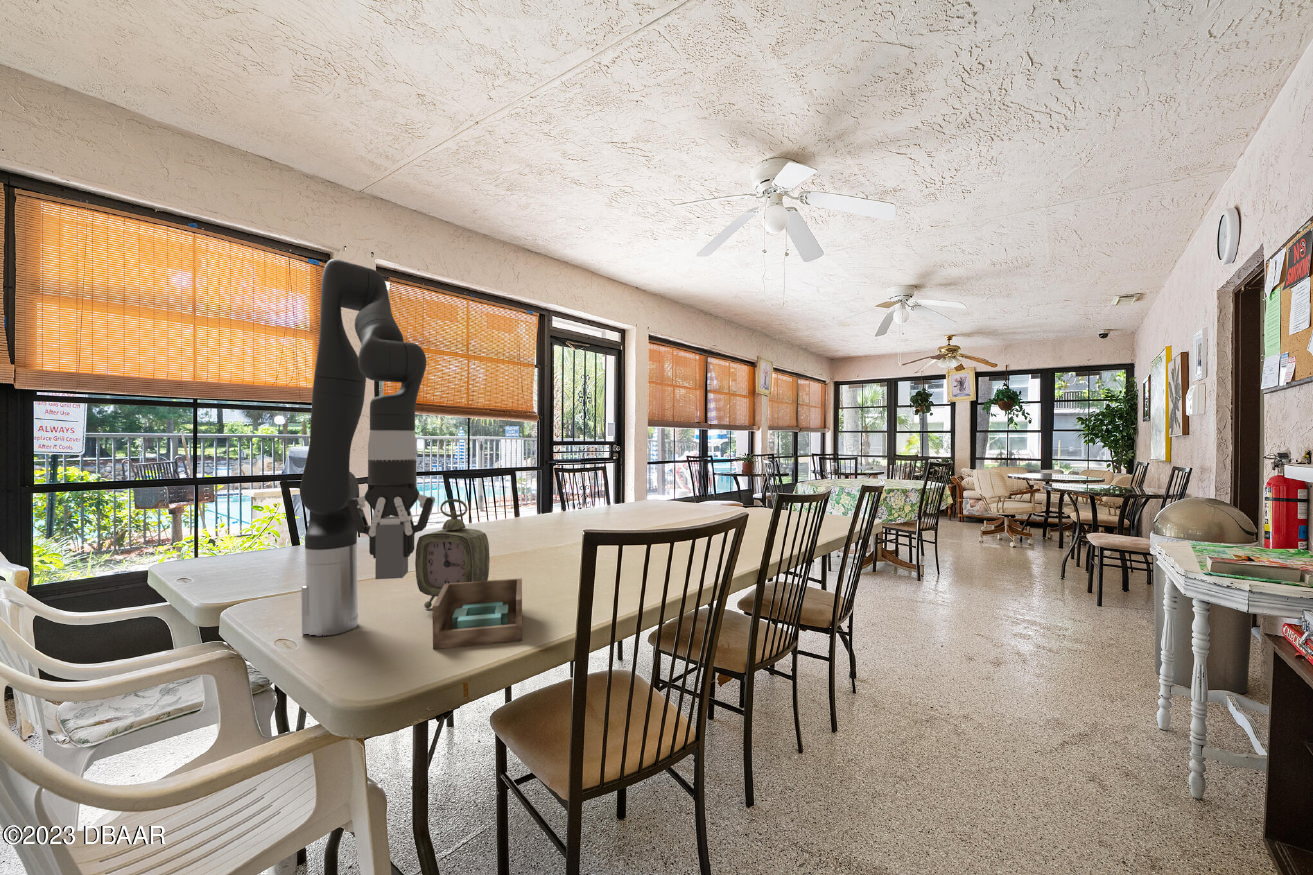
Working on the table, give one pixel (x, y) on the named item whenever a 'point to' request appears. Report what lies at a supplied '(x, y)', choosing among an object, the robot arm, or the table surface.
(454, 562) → the tabletop clock
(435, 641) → the walled box
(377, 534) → the block
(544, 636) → the table surface
